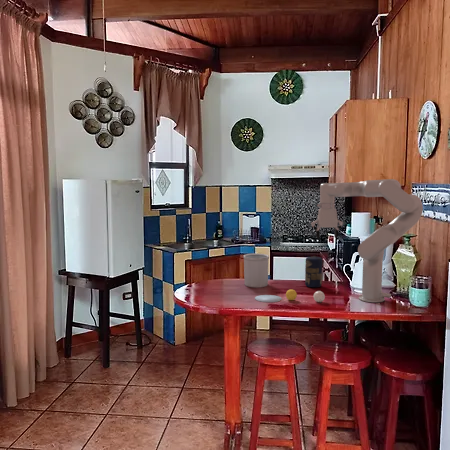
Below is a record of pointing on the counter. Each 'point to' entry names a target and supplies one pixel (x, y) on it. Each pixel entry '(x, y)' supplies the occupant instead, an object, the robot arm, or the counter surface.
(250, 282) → the utensil holder
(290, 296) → the object ball
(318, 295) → the cue ball
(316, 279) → the blue cylindrical canister
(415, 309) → the counter surface
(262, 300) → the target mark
